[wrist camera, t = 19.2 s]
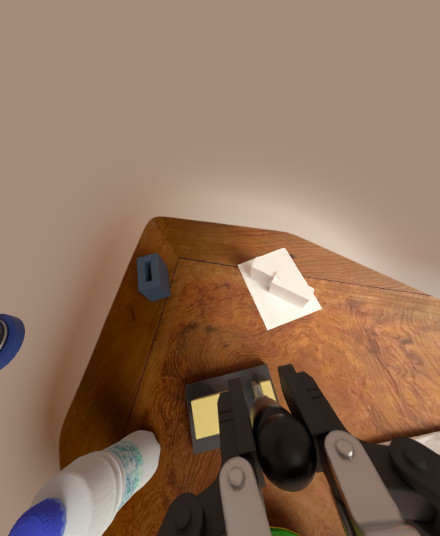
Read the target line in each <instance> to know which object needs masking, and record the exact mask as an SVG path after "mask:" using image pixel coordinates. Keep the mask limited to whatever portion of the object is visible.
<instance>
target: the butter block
mask: <svg viewBox="0 0 440 536" xmlns="http://www.w3.org/2000/svg"><path fill="white" fill-rule="evenodd" d="M227 391H229V390H227ZM223 392H226V391H223ZM220 393H222V392H219V393H215V394H212V395H208V396H204V397H200V398H197V399H194V400H192V401H191V405H192V412H193V419H194V427H195V434H196V439H200V438H204V437H207V436H211V435H215V434H219V421H218V408H217V402H218V398H219V395H220Z"/></svg>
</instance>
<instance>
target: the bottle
mask: <svg viewBox="0 0 440 536" xmlns="http://www.w3.org/2000/svg"><path fill="white" fill-rule="evenodd" d="M160 450H161V447H160V444H159V443H158V442H157V440H156V438H155V435H154V433H152V432H150V431H144V430H138V431H135V432H133V433H131V434H129V435H128V436H126V437H125V438H123V439H122V440H121V441H119V442H117V443H115V444H113V445H112V446H110V447H108V448H106V449H104V450H102V451H96V452H92V453H89V454H87V455H84V456H82V457H79V458H78V459H76V460H74V461H73V462H72V463H71V464H70V465H68V466H67V467H66V468H64V469H63V470H62V471H60V472H59V473H58V474H57V475H55V476H54V477H52V478H51V479H49V480H48V482H46V483H45V484H44V486H43V487H42V488H41V489H40V491H39V492H38V493H37V495H36V496H35V498H34V500H33V501H32V503H31V506H30V508H29V510H27V511H26V512H25V513H24V514H23V515H22V516H21V517H20V518H19V519H18V520H17V522H16V523H15V525H14V526H13V528H12V529H11V531H10V533H9V535H8V536H101V535H102V534H103V533H104V531H105V530H106V529H107V528H108V526H109V525H110V524H111V522H112V521H113V519H114V517H115V515H116V513H117V511H118V510H119V509H120V508H121V507H122V506H123V505H124V504H125V503H126V502H127V501H128V500H129V499H130V498H131V496H132V495H133V494H134V493H135V492H137V491H138V490H139V489H140V488H141V487H143V486H144V485H145V484H146V483H147V482H148V481H149V479H150V478H151V477H152V476H153V474H154V473H155V471H156V469H157V467H158V461H159V455H160Z"/></svg>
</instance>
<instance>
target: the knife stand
mask: <svg viewBox="0 0 440 536" xmlns="http://www.w3.org/2000/svg"><path fill="white" fill-rule="evenodd" d="M137 270H138V291H139V292H140V293H142V294H143V295H144V296H145V297H147V298H148V299H149V300H151V301H154V300H158V299H162V298H166V297H170V296H171V295H170V287H169V279H168V270H167V266H166V264H165V263H164V262H163V260H162V259H161V258H160V256H159V255H158V253H154V254H150V255H146V256H142V257H138V258H137Z"/></svg>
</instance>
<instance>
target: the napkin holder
mask: <svg viewBox="0 0 440 536" xmlns="http://www.w3.org/2000/svg"><path fill="white" fill-rule="evenodd" d="M238 267H239V269H240V271H241V273H242V276H243V278H244V280H245V282H246V284H247V286H248V289H249V291H250V293H251V295H252V297H253V300H254V302H255V304H256V306H257V308H258V310H259V313H260V315H261V317H262V319H263V321H264V324H265V326H266V328H267V330H270V329H272V328H275V327H277V326H280V325H282V324H285V323H287V322H290V321H292V320H295V319H297V318H300V317H303V316H305V315H308V314H310V313H313V312H315V311H318V310H320V309H322V307H321V306H320V304H319V302H318V301H317V299H316V298H315V296H314V294H313V291H314V288H312V287H309V286H308V285H307V283H306V281H305V280H304V278H303V277H302V275H301V273H300V272H299V270H298V268H297V267H296V265H295V264H294V262H293V260H292V259H291V257H290V255H289V254H288V252H287V251H286V249H285V247H284V248H282V249H279V250H276V251H274V252H271V253H268V254H265V255H263V256H260V257H256V258H255V259H252V260H249V261H247V262H244V263H241V264H238Z"/></svg>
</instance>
